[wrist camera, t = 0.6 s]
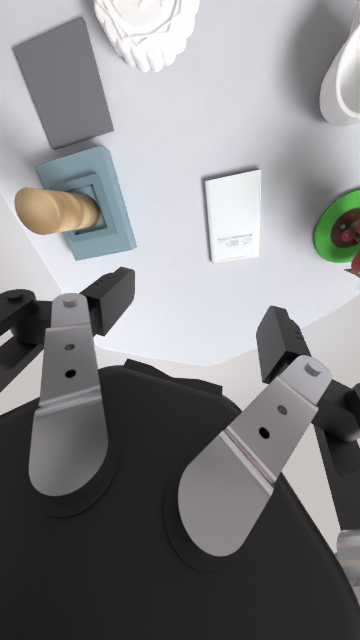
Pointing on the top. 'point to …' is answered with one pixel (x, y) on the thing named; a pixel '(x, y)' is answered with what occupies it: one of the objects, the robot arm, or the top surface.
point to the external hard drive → (234, 216)
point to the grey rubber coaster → (65, 84)
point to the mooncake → (147, 29)
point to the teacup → (344, 81)
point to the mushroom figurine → (341, 232)
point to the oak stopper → (55, 210)
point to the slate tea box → (102, 185)
